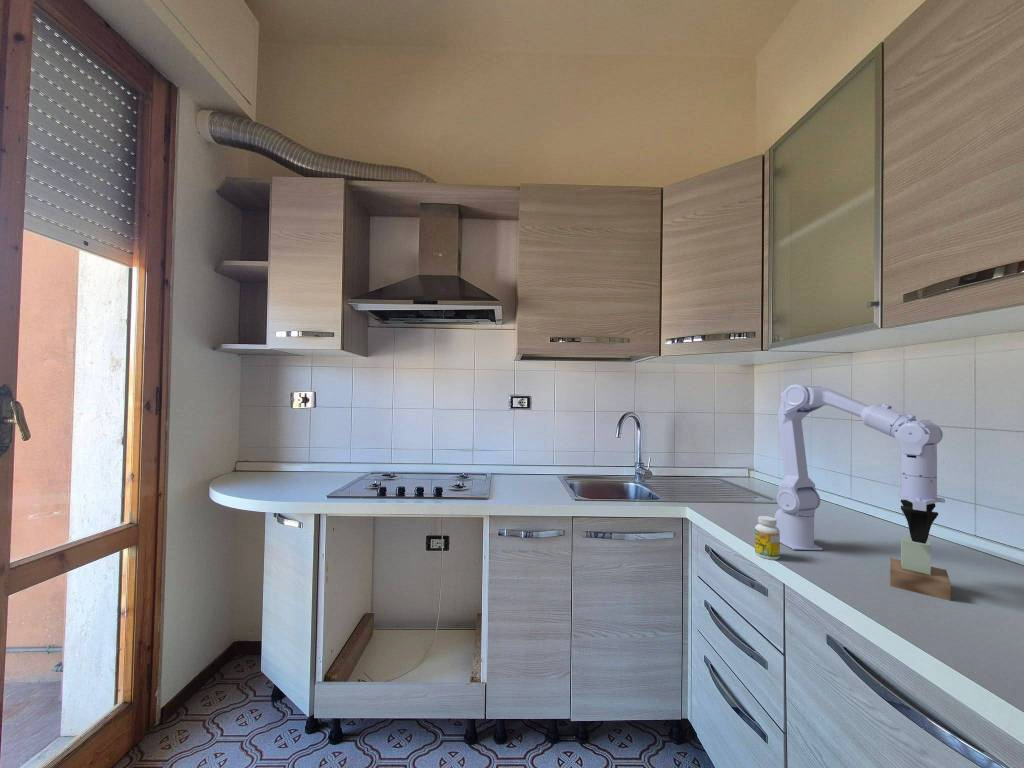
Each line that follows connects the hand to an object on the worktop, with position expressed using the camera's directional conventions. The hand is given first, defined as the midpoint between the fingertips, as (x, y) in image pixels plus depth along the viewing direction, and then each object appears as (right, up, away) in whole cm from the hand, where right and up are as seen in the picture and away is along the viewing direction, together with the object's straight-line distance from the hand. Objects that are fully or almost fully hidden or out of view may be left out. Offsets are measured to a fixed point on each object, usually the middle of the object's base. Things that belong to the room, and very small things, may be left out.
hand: (918, 537), depth 90 cm
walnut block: (0, -11, 0) cm, 11 cm away
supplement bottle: (-24, -10, +15) cm, 30 cm away
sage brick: (-1, -7, 0) cm, 7 cm away
